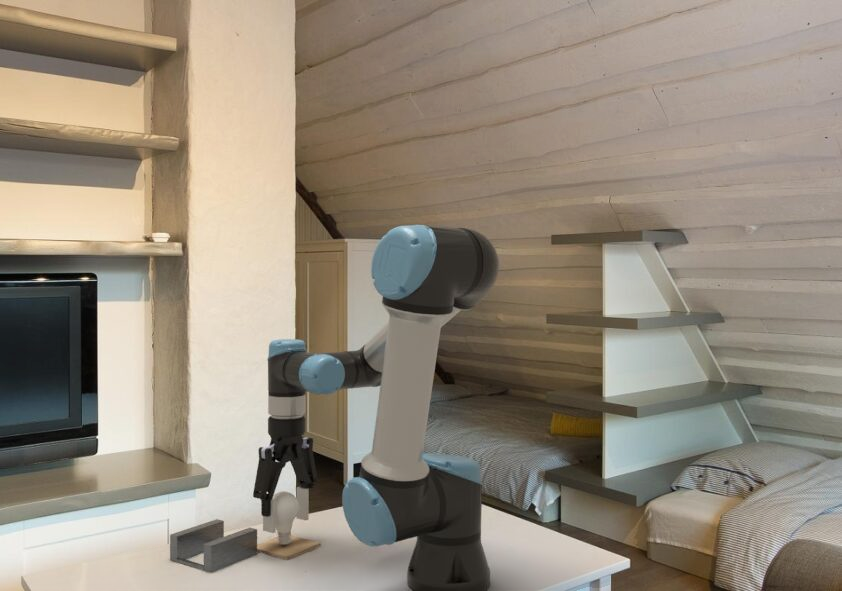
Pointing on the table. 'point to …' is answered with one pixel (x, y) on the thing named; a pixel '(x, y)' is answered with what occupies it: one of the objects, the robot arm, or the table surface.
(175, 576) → the table surface
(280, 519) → the lightbulb
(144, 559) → the table surface
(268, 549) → the cork pad
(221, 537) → the housing
